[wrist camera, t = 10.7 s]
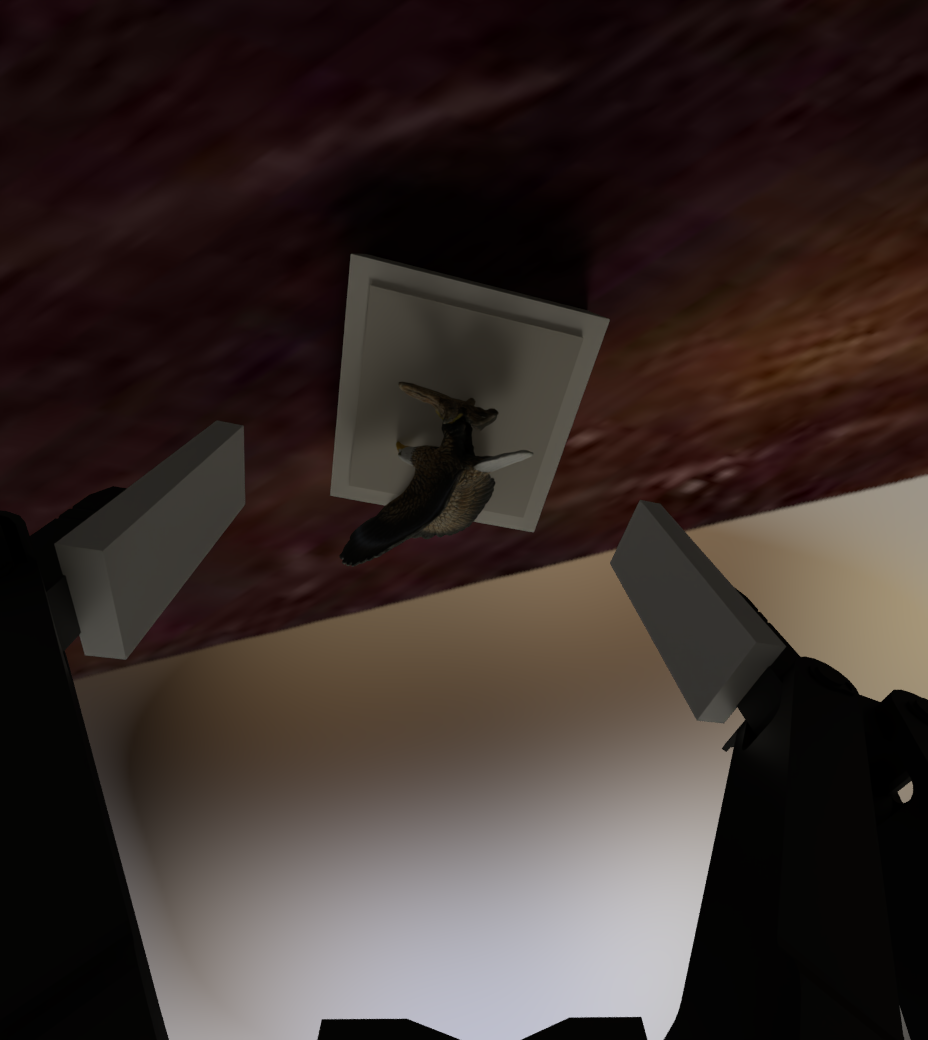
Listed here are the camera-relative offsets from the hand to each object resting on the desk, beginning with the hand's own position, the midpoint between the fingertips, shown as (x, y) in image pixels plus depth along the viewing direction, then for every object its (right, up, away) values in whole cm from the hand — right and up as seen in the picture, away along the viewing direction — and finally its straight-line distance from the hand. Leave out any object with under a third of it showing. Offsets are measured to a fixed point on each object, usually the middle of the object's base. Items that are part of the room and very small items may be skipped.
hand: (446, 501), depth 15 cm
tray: (0, +7, +12) cm, 13 cm away
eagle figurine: (-1, +3, +9) cm, 10 cm away
